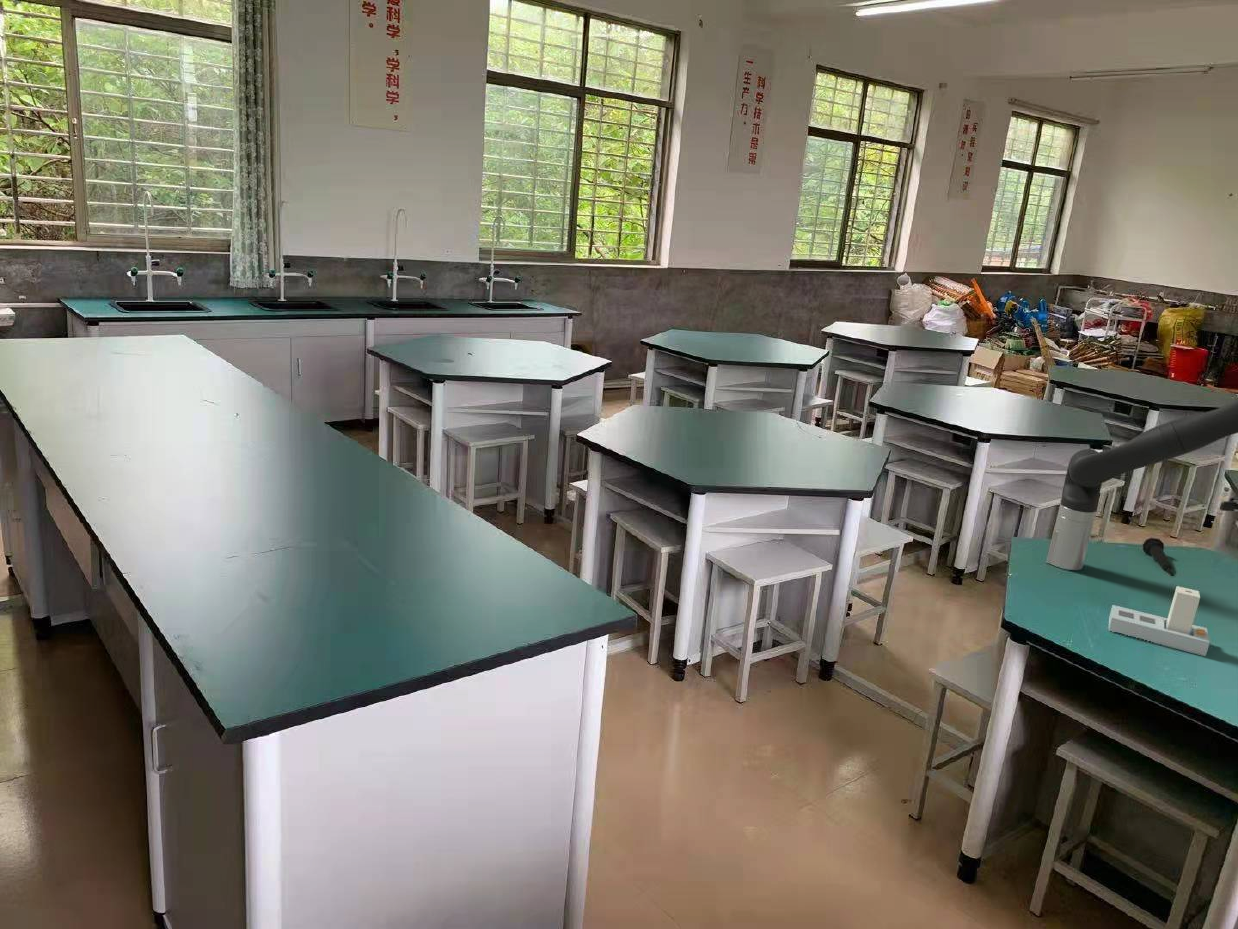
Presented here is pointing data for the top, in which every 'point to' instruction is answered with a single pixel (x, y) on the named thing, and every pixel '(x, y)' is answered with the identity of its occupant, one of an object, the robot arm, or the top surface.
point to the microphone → (1157, 553)
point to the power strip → (1157, 630)
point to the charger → (1183, 610)
